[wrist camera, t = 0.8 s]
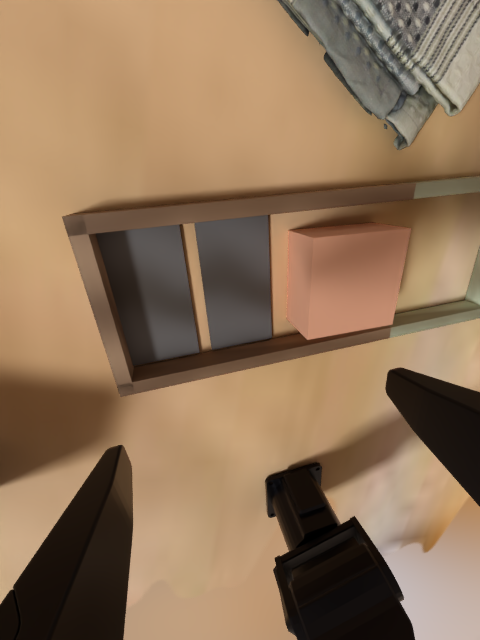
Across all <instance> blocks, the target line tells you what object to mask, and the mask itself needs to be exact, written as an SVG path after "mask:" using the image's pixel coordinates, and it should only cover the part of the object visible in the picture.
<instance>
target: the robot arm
mask: <svg viewBox="0 0 480 640" xmlns="http://www.w3.org/2000/svg"><path fill="white" fill-rule="evenodd" d="M385 389H386V393H387V395H388V397H389V398H390V399H391V401H392V402H393V403H394V405H395V406H396V408H397V409H398V410H399V412H400V413H401V414H402V416H403V417H404V418H405V420H406V421H407V423H408V424H409V425H410V427H411V428H412V429H413V431H414V432H415V433H416V434H417V435H418V437H419V438H420V439H421V440H422V441H423V442H424V444H425V445H426V446H427V447H428V448H429V449H430V450H431V452H432V453H433V454H434V455H435V456H436V457H437V458H438V460H439V461H440V462H441V463H442V464H443V465H444V466H445V468H446V469H447V470H448V471H449V472H450V473H451V474H452V476H453V477H454V478H455V479H456V480H457V481H458V482H459V484H460V485H461V486H462V487H463V488H464V489H465V490H466V491H467V493H468V494H469V495H470V496H471V497H472V498H473V499H474V501H475V502H476V503H477V504H478V505H479V506H480V392H477V391H474V390H471V389H468V388H464V387H461V386H458V385H455V384H452V383H449V382H445V381H442V380H439V379H436V378H433V377H430V376H426V375H423V374H420V373H417V372H414V371H411V370H407V369H404V368H395V369H392V370H389V372H388V374H387V381H386V388H385ZM321 472H322V467H321V465H320V464H319V463H315V464H311V465H308V466H305V467H301V468H298V469H295V470H292V471H288V472H285V473H282V474H278V475H275V476H272V477H269V478H267V479H266V480H265V486H266V504H267V514H268V517H269V518H272V517H275V516H276V517H277V520H278V522H279V525H280V528H281V531H282V533H283V536H284V539H285V542H286V544H287V547H288V550H289V552H287V553H286V554H284V555H282V556H277V557H275V562H276V567H275V568H274V570H273V571H274V574H275V578H276V581H277V584H278V588H279V592H280V596H281V601H282V607H283V611H284V616H285V622H286V626H287V629H288V631H289V632H291V633H292V634H294V635H295V636H296V637H297V640H415V637H414V632H413V627H412V624H411V621H410V619H409V617H408V616H407V614H406V612H405V611H404V609H403V607H402V605H401V603H400V601H402V600H404V597H403V594H402V591H401V589H400V587H399V585H398V583H397V581H396V579H395V577H394V575H393V574H392V572H391V570H390V569H389V567H388V565H387V563H386V562H385V560H384V558H383V557H382V555H381V554H380V552H379V551H378V549H377V548H376V547H375V545H374V544H373V542H372V541H371V539H370V538H369V536H368V535H367V533H366V532H365V530H364V529H363V528H362V526H361V525H360V523H359V522H358V520H357V519H356V517H355V516H354V517H352V518H350V520H348V521H347V522H345V523H343V524H340V522H339V520H338V518H337V516H336V514H335V513H334V511H333V509H332V507H331V505H330V504H329V502H328V500H327V498H326V496H325V494H324V493H323V491H322V489H321V487H320V486H321ZM132 534H133V491H132V466H131V462H130V460H129V457H128V455H127V453H126V450H125V448H124V446H123V445H118V446H114V447H111V448H108V449H107V450H106V451H105V453H104V454H103V456H102V457H101V459H100V460H99V462H98V463H97V465H96V466H95V468H94V469H93V470H92V472H91V473H90V475H89V476H88V478H87V479H86V481H85V482H84V484H83V485H82V487H81V488H80V489H79V491H78V492H77V494H76V495H75V497H74V498H73V500H72V501H71V503H70V504H69V505H68V507H67V508H66V510H65V511H64V513H63V514H62V516H61V517H60V519H59V520H58V522H57V523H56V524H55V526H54V527H53V529H52V530H51V532H50V533H49V535H48V536H47V538H46V539H45V540H44V542H43V543H42V545H41V546H40V548H39V549H38V551H37V552H36V554H35V555H34V557H33V558H32V559H31V561H30V562H29V564H28V565H27V567H26V568H25V570H24V571H23V573H22V574H21V575H20V577H19V578H18V580H17V581H16V583H15V584H14V586H13V589H14V590H13V589H12V590H10V591H9V593H8V594H7V596H6V597H5V599H4V600H3V601H2V603H1V604H0V640H123V636H124V624H125V614H126V602H127V591H128V580H129V568H130V557H131V546H132Z"/></svg>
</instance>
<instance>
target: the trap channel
mask: <svg viewBox="0 0 480 640" xmlns="http://www.w3.org/2000/svg"><path fill="white" fill-rule="evenodd" d="M474 192H480V176H471V177H460V178H450V179H439V180H428V181H418V182H407V183H396V184H386V185H375V186H364V187H354V188H343V189H332V190H322V191H311V192H300V193H290V194H279V195H268V196H258V197H247V198H237V199H226V200H215V201H205V202H194V203H183V204H173V205H162V206H151V207H141V208H130V209H119V210H109V211H98V212H87V213H77V214H70V215H66V216H63V217H62V218H63V221H64V225H65V228H66V231H67V234H68V237H69V240H70V243H71V246H72V249H73V252H74V255H75V258H76V261H77V265H78V268H79V271H80V274H81V277H82V280H83V283H84V286H85V289H86V292H87V295H88V298H89V302H90V305H91V308H92V311H93V314H94V317H95V320H96V323H97V326H98V329H99V332H100V335H101V338H102V342H103V345H104V348H105V351H106V354H107V357H108V360H109V363H110V366H111V369H112V372H113V375H114V378H115V382H116V385H117V388H118V391H119V394H120V397H123V396H127V395H132V394H136V393H141V392H146V391H150V390H155V389H159V388H164V387H168V386H173V385H177V384H182V383H187V382H191V381H196V380H200V379H205V378H209V377H214V376H218V375H223V374H228V373H232V372H237V371H241V370H246V369H250V368H255V367H259V366H264V365H269V364H273V363H278V362H282V361H287V360H291V359H296V358H300V357H305V356H310V355H314V354H319V353H323V352H328V351H332V350H337V349H341V348H346V347H351V346H355V345H360V344H364V343H369V342H373V341H378V340H382V339H387V338H392V337H396V336H401V335H405V334H410V333H414V332H419V331H423V330H428V329H433V328H437V327H442V326H446V325H451V324H455V323H460V322H464V321H469V320H474V319H478V318H480V248H479V251H478V255H477V258H476V262H475V265H474V269H473V272H472V276H471V279H470V283H469V286H468V290H467V294H466V297H465V300H463V301H458V302H454V303H449V304H444V305H439V306H434V307H429V308H424V309H419V310H414V311H409V312H404V313H399V314H394V319H393V324H392V325H387V326H381V327H376V328H370V329H365V330H359V331H354V332H348V333H343V334H337V335H332V336H326V337H321V338H315V339H310V340H307V339H306V338H305V337H304V336H303V335H302V334H301V333H299V334H294V335H289V336H284V337H279V338H274V339H270V338H272V327H271V295H270V262H269V230H268V215H271V214H280V213H289V212H298V211H308V210H317V209H326V208H335V207H345V206H354V205H363V204H372V203H382V202H391V201H400V200H409V199H419V198H428V197H437V196H446V195H456V194H465V193H474ZM188 223H195V230H196V238H197V245H198V252H199V260H200V267H201V274H202V282H203V289H204V296H205V303H206V311H207V318H208V325H209V333H210V340H211V347H212V350H215V349H220V348H225V347H230V346H235V345H240V344H245V343H250V342H255V341H260V340H265V339H269V340H265V341H260V342H255V343H250V344H245V345H240V346H235V347H230V348H225V349H220V350H215V351H210V352H205V353H200V352H199V346H198V340H197V333H196V327H195V321H194V314H193V308H192V302H191V296H190V289H189V283H188V277H187V271H186V264H185V258H184V252H183V245H182V239H181V233H180V227H179V224H188ZM195 353H200V354H195ZM190 354H195V355H190ZM185 355H190V356H185ZM180 356H185V357H180ZM175 357H180V358H175ZM170 358H175V359H170ZM165 359H170V360H165ZM160 360H165V361H160ZM155 361H160V362H155ZM151 362H155V363H151ZM146 363H150V364H146ZM141 364H145V365H141ZM136 365H140V366H136ZM134 366H135V367H134Z"/></svg>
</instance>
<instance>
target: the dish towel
mask: <svg viewBox="0 0 480 640" xmlns="http://www.w3.org/2000/svg"><path fill="white" fill-rule="evenodd" d="M278 2H279V3H280V4H281V6H282V7H283V8H284V9H285V10H286V12H287V13H288V14H289V16H290V17H291V18H292V20H293V21H294V22H295V23H296V24H297V25H298V27H299V28H300V29H301V30H302V32H303V33H304V34H305V35H306V36H308V34H309V31H310V32H311V33H312V34H313V35H314V37H315V38H316V39H317V40H318V42H319V44H321V45H322V46H323V47H324V48H325V49H326V53H325V55H324V60H325V62H326V63H327V65H328V66H329V67H330V68H331V70H332V71H333V73H334V74H335V75H336V77H337V78H338V79H339V80H340V81H341V82H342V83H343V85H344V86H345V87H346V88H347V90H348V91H349V92H350V93H351V94H352V95H353V97H354V98H355V99H356V101H357V102H358V103H359V104H360V105H361V106H362V107H363V109H364V110H365V111H366V112H367V113H369V114H370V115H372V113H373V114H374V115H375V116H376V117H377V118H378V119H382V120H384V119H385V120H386V121H387V123H388V124H389V125H390V126H391V127H392V128H393V129H394V131H395V132H396V133H397V134H398V136H397V137H396V139H395V141H394V146H395V147H396V148H397V150H401V149H403V148H405V147H409V146H410V144H411V143H412V142H413V140H414V139H415V137H416V135H417V133H418V132H419V131H420V129H421V128H422V126H423V125H424V123H425V122H426V120H427V119H428V118H429V117H430V115H431V113H432V112H433V110H434V108H435V107H436V106H437V104H438V103H439V104H440V105H441V106H442V107H443V108H444V110H445V113H446V114H447V115H448V116H454V115H456V114H458V113H459V112H460V111H461V110H462V109H463V107H464V106H465V104H466V103H467V101H468V100H469V98H470V97H471V95H472V94H473V92H474V91H475V89H476V88H477V86H478V85H479V83H480V0H278ZM384 129H387V125H386V124H384Z"/></svg>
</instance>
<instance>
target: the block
mask: <svg viewBox="0 0 480 640" xmlns="http://www.w3.org/2000/svg"><path fill="white" fill-rule="evenodd" d="M410 233H411V228H407V227H400V226H393V225H387V224H380V223H374V222H372V223H361V224H351V225H340V226H329V227H319V228H308V229H297V230H288V271H287V320H288V321H289V322H290V323H291V324H292V325H293V326H294V327H295V328H296V329H297V330H298V331H299V332H300V333H301V334H302V335H303V336H304V337H305V338H306V339H307V340H310V339H315V338H321V337H326V336H332V335H337V334H343V333H348V332H354V331H359V330H365V329H370V328H376V327H381V326H387V325H392V324H393V319H394V314H395V309H396V304H397V299H398V294H399V289H400V284H401V279H402V274H403V268H404V263H405V258H406V253H407V248H408V243H409V238H410Z"/></svg>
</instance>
